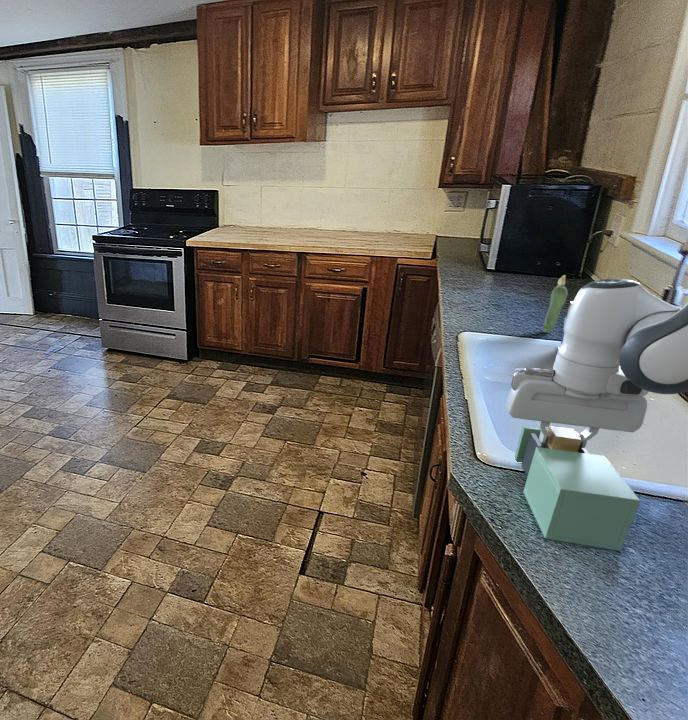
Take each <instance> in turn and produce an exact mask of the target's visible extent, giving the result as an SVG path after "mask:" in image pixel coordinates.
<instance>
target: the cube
mask: <svg viewBox="0 0 688 720" xmlns="http://www.w3.org/2000/svg"><path fill="white" fill-rule="evenodd" d="M547 428H548V430H547V431H550V433H551V434H552V436H553V438H552V440H551V443H550V444H548V443H543V445H544V447H545V448H547V449H555V450H563V451H570V452H578V449H579V446H580V443H581V440H582V439H581V438H580V437H579V436H578V434H577V433H576V432H577V431H576V430H575V429H574V428H572V427H571V428H570V427H564V426H563V427H562V426H556V425H555V426H554V425H549V427H547Z"/></svg>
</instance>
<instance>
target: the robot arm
mask: <svg viewBox="0 0 688 720" xmlns="http://www.w3.org/2000/svg"><path fill="white" fill-rule="evenodd" d="M564 330H565V337H564V341H563V343H562V345H561V346H560V347H559V346H558V347H559V349H558V348H557V352H556V356H555V360H554V363H553V366H552V369H543V368H533V367H525V368H524V369H520V370H518V371H516V372H515V373H514V374H513V376H512V379H511V383H510V384H511V389H510V390H509V393H508V396H507V398H506V401H505V409H506V411H507V413H508V414H509V416H510V417H511V418H513V419H519V420H527V421H535V422H536V423H537V425H538V427H539V428H540V430H541V433H540V436H539V440H540V442H541V443H548V444H550V443H551V440H552V438H553V436H552V434H551V433H550V431H546V428H548V427H549V426H551V425H550V424H551V423H552V424H559V425H569V426H575V427H584V428H585V429H584V430H582V432H580V433H579V434H580V435H578V436H579V437H580V438H581V439H582V440H581V443H580V446H579V448H586V446H587V442H588V441H590V440H591V439H592V438H594V437H595V436H597V434H599V431H600V429H601V430H607V431H608V430H609V431H617V432H625V433H635V432H636V431H639V430H640V429H641V428H642V426H643V423H644V420H645V417H646V414H647V409H648V401H647V398H646V397H645V396H647V395H649V393H653V394H658V395H678V394H684V393H687V392H688V302H687V303H686V304H685V305H684V306H683V307H678V306H677V305H675V304H674V305H673V304H672V303H669V302H668V301H665V300H663V299H661V298H659V297H658V296H656V295H654V294H652V293H651V292H649V291H648V290H647V289H646V288H645V287H644V286H643V285H642V284H641V283H640V282H638V281H635V280H632V279H626V278H625V279H624V278H606V279H605V278H603V279H597V280H593V281H591V282H588V283H586V284H585V285H583V286H581V288H580V289H579V290H578V291H577V293H576V295H575V297H574V299H573V304H572V306H571V309H570V312H569V314H568V318H567V321H566V324H565V329H564Z"/></svg>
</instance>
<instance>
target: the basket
mask: <svg viewBox="0 0 688 720" xmlns="http://www.w3.org/2000/svg"><path fill="white" fill-rule="evenodd" d="M545 428H546V431H547V430H548V427H545ZM575 432H576V433H577V434H578V435H580V434H581V433H580V432H579V431H575ZM540 433H541V430H540V428H539V426H531V425H522V427H521V431H520V434H519V437H518V438H519V439H518V442H517V446H516V450H515V453H514V457H515V460H516V461H517V462H522V463H518V464H520V465H521V468H522V470H523V472H524V474H525V477H526V478H527V477H528V474H529V470H530V467H531V463H532V460H533V456H534V453H535V449H536V447H540V448H545V447H544V445H543V443H541V442H540V440H539V436H540ZM578 453H586V454H590V453H589V451H588V450H587V448H586V447H585V448H579V449H578Z"/></svg>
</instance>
